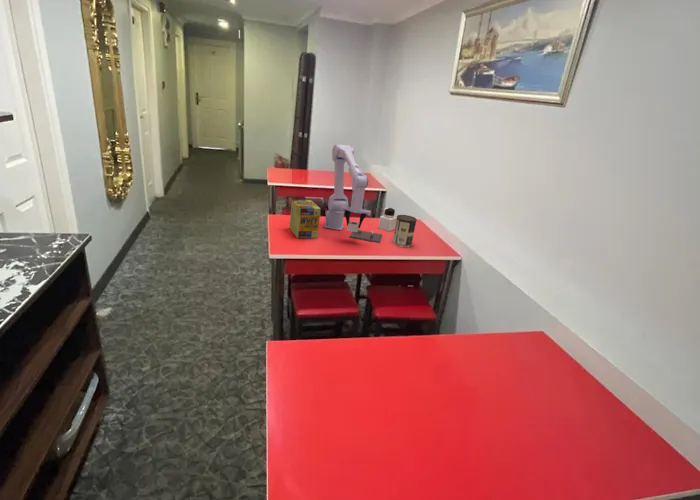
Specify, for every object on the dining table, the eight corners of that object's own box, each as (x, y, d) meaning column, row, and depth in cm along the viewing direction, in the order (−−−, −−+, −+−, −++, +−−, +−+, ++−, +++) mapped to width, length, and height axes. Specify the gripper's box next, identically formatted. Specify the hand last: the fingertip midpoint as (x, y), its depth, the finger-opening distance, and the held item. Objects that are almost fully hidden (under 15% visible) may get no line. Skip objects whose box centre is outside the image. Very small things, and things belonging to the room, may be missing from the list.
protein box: (297, 238, 186) (300, 208, 180) (289, 228, 199) (291, 199, 193) (317, 238, 191) (321, 208, 185) (308, 227, 203) (311, 199, 198)
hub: (347, 230, 188) (347, 223, 187) (348, 227, 193) (349, 220, 192) (357, 232, 188) (358, 225, 186) (359, 229, 192) (360, 222, 191)
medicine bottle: (394, 229, 221) (398, 209, 216) (388, 231, 215) (392, 211, 211) (383, 225, 224) (387, 206, 220) (377, 228, 218) (381, 208, 214)
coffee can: (408, 240, 206) (413, 215, 200) (414, 247, 196) (419, 221, 191) (389, 239, 204) (394, 213, 198) (395, 246, 194) (400, 220, 189)
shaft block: (349, 237, 198) (350, 231, 196) (353, 230, 209) (354, 224, 207) (379, 243, 196) (381, 236, 194) (382, 235, 207) (383, 229, 205)
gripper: (341, 199, 182) (337, 226, 187) (371, 204, 180) (366, 231, 185) (343, 196, 188) (340, 222, 193) (372, 201, 187) (368, 227, 192)
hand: (353, 226), depth 190 cm, fingers closed on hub, 5 cm apart
